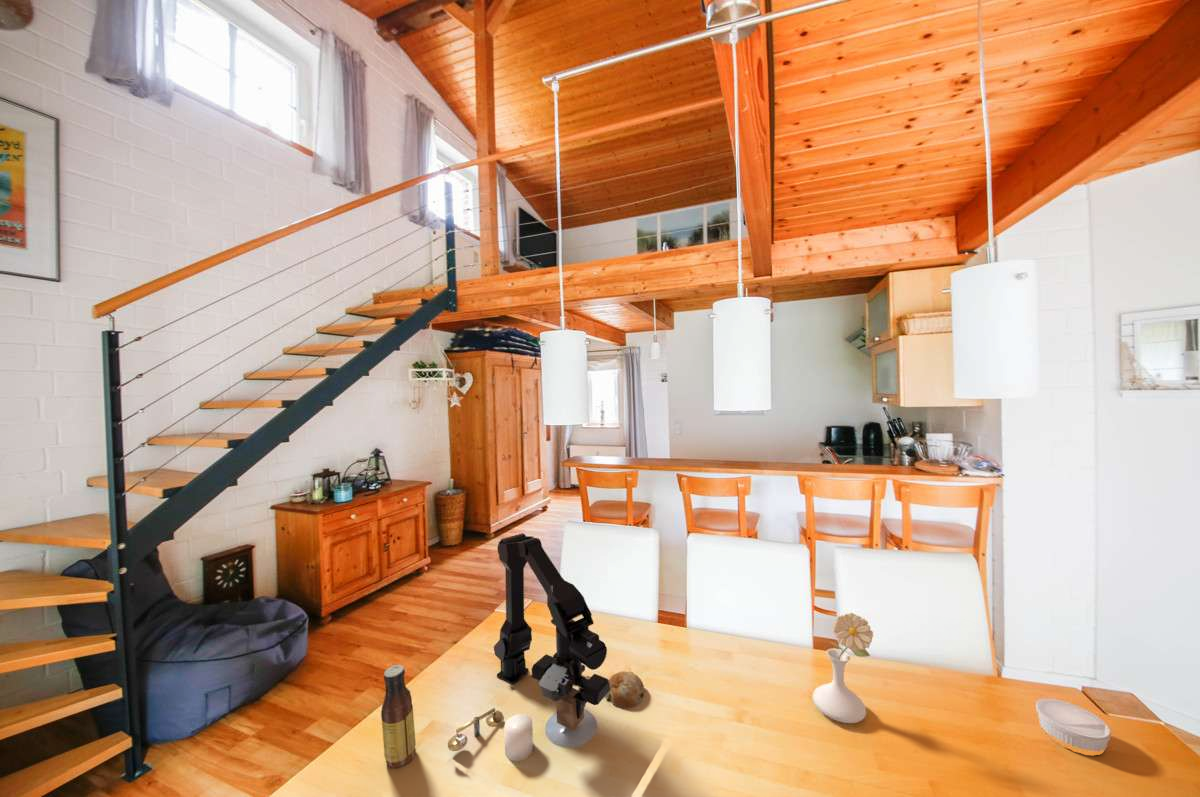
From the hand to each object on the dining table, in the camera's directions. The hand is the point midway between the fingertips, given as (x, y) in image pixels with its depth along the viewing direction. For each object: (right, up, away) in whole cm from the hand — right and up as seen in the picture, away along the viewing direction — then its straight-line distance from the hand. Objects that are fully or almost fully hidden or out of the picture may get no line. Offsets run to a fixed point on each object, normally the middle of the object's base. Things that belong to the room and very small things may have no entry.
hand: (570, 713), depth 101 cm
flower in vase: (+65, -3, +4) cm, 65 cm away
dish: (0, -4, 0) cm, 4 cm away
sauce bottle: (-37, -6, -6) cm, 38 cm away
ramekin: (+110, -2, -6) cm, 110 cm away
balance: (-21, -5, -2) cm, 22 cm away
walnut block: (0, -2, 0) cm, 2 cm away
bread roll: (+13, -4, +10) cm, 17 cm away
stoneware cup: (-11, -5, -6) cm, 13 cm away
